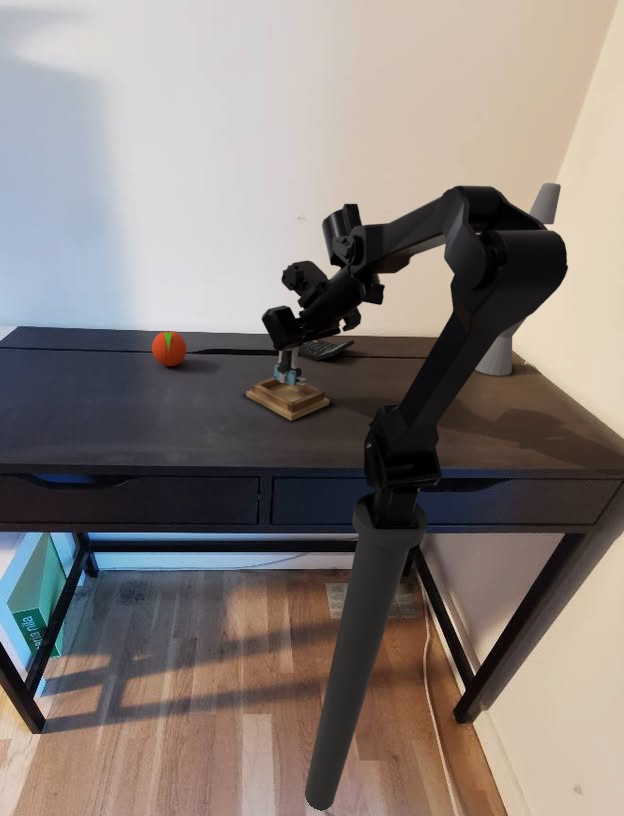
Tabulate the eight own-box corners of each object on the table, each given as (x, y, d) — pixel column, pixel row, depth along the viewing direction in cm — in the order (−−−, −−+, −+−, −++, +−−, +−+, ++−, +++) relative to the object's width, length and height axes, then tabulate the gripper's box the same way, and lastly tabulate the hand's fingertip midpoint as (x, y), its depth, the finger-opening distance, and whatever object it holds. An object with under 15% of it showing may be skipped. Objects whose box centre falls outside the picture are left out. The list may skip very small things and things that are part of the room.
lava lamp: (493, 357, 113) (552, 181, 92) (521, 373, 106) (592, 186, 85) (461, 361, 110) (514, 180, 90) (487, 377, 104) (551, 186, 83)
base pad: (329, 404, 91) (331, 392, 89) (291, 421, 85) (292, 408, 83) (284, 382, 97) (285, 370, 96) (246, 396, 92) (246, 384, 90)
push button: (312, 383, 89) (318, 328, 83) (294, 392, 85) (298, 335, 80) (284, 372, 92) (288, 319, 86) (265, 380, 89) (268, 325, 83)
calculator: (309, 340, 117) (310, 328, 115) (353, 353, 112) (355, 340, 110) (288, 351, 111) (289, 338, 109) (333, 365, 105) (334, 352, 104)
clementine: (188, 373, 99) (186, 339, 95) (153, 374, 98) (149, 339, 94) (186, 358, 105) (184, 325, 101) (153, 358, 104) (150, 325, 100)
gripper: (357, 239, 78) (302, 295, 91) (273, 252, 68) (224, 313, 81) (389, 301, 78) (329, 348, 91) (309, 323, 68) (254, 373, 80)
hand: (286, 344), depth 86 cm, fingers closed on push button, 5 cm apart
